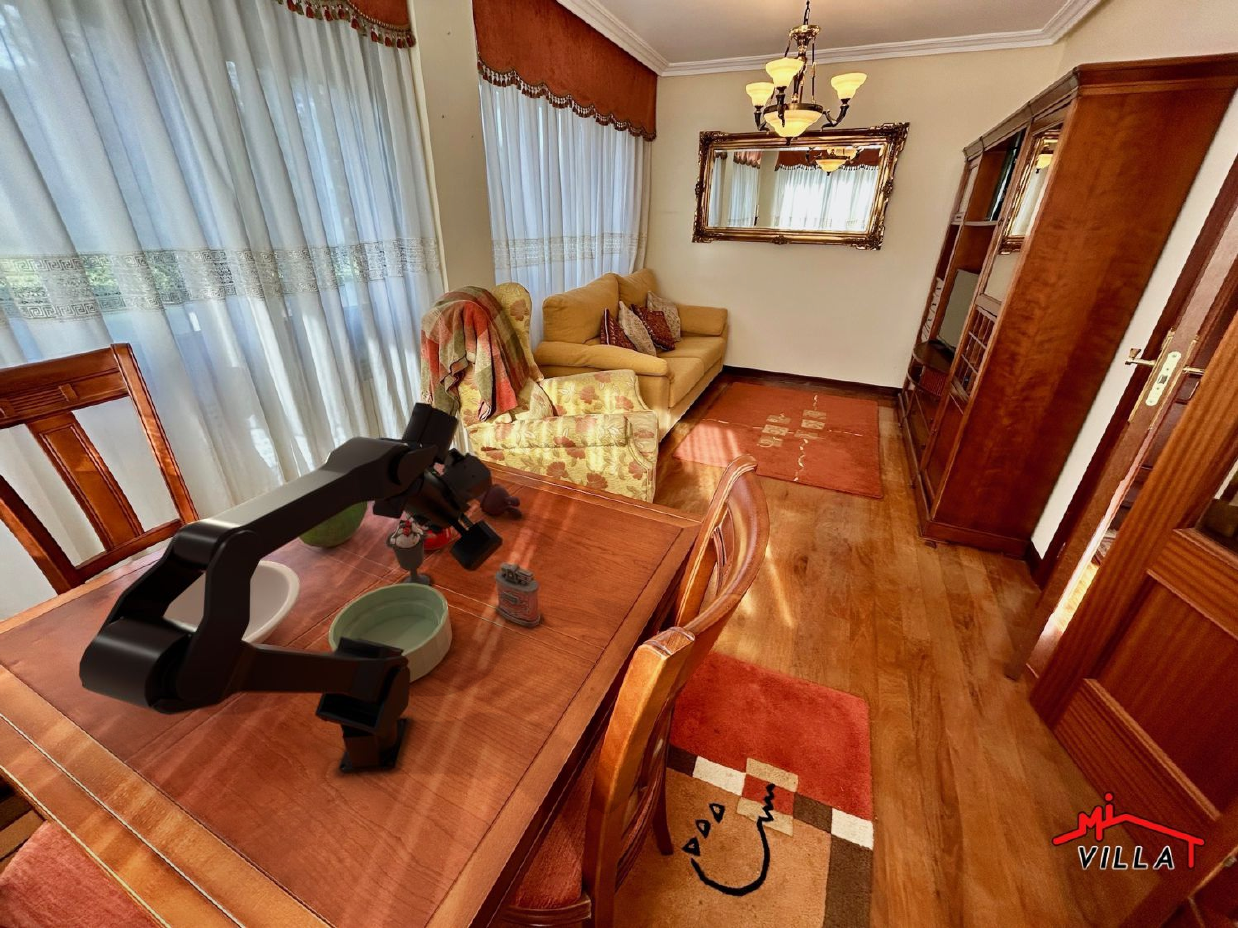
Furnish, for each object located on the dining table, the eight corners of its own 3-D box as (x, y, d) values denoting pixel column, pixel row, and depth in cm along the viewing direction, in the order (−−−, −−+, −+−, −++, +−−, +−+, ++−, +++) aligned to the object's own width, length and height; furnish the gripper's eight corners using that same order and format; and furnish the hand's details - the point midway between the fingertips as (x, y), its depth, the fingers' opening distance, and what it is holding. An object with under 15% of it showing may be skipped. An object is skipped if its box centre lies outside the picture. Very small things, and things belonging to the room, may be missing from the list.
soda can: (461, 537, 103) (452, 473, 97) (432, 558, 97) (420, 491, 90) (433, 527, 106) (423, 464, 100) (403, 546, 100) (390, 480, 93)
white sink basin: (341, 624, 81) (332, 593, 78) (160, 744, 62) (139, 708, 59) (261, 573, 91) (250, 543, 89) (86, 662, 73) (65, 628, 70)
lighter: (493, 612, 84) (488, 565, 80) (506, 600, 87) (502, 554, 83) (532, 630, 81) (529, 581, 77) (544, 617, 84) (542, 569, 79)
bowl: (439, 689, 71) (434, 659, 68) (318, 697, 69) (308, 666, 66) (460, 608, 85) (456, 581, 82) (361, 613, 83) (353, 585, 81)
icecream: (452, 487, 109) (508, 510, 104) (473, 467, 114) (528, 487, 109) (459, 509, 114) (513, 532, 109) (479, 489, 118) (532, 509, 113)
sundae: (423, 599, 87) (409, 527, 80) (388, 593, 88) (372, 521, 81) (442, 575, 92) (431, 506, 86) (409, 570, 94) (396, 501, 87)
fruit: (348, 513, 110) (338, 473, 106) (386, 521, 108) (378, 481, 103) (289, 552, 97) (275, 508, 93) (331, 563, 95) (319, 518, 90)
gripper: (511, 495, 63) (545, 530, 77) (428, 412, 70) (473, 458, 84) (444, 560, 61) (491, 584, 75) (365, 468, 68) (422, 505, 82)
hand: (470, 529), depth 79 cm, fingers open, 9 cm apart
